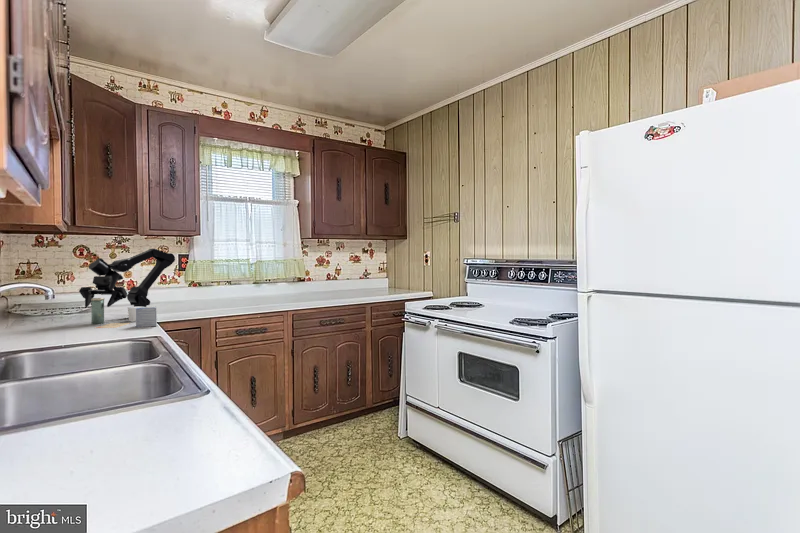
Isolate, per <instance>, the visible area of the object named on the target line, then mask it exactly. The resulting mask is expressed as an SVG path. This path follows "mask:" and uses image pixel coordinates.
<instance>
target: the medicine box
mask: <svg viewBox="0 0 800 533" xmlns="http://www.w3.org/2000/svg"><path fill="white" fill-rule="evenodd" d="M157 312H158V310H157V306H146V307H137V308H136V321H135V328H140V327H141V328H142V326H144V327H151V326H152V327H157V325H158V324H157V323H158V322H157V320H158V318H157V317H158V316H157Z"/></svg>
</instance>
